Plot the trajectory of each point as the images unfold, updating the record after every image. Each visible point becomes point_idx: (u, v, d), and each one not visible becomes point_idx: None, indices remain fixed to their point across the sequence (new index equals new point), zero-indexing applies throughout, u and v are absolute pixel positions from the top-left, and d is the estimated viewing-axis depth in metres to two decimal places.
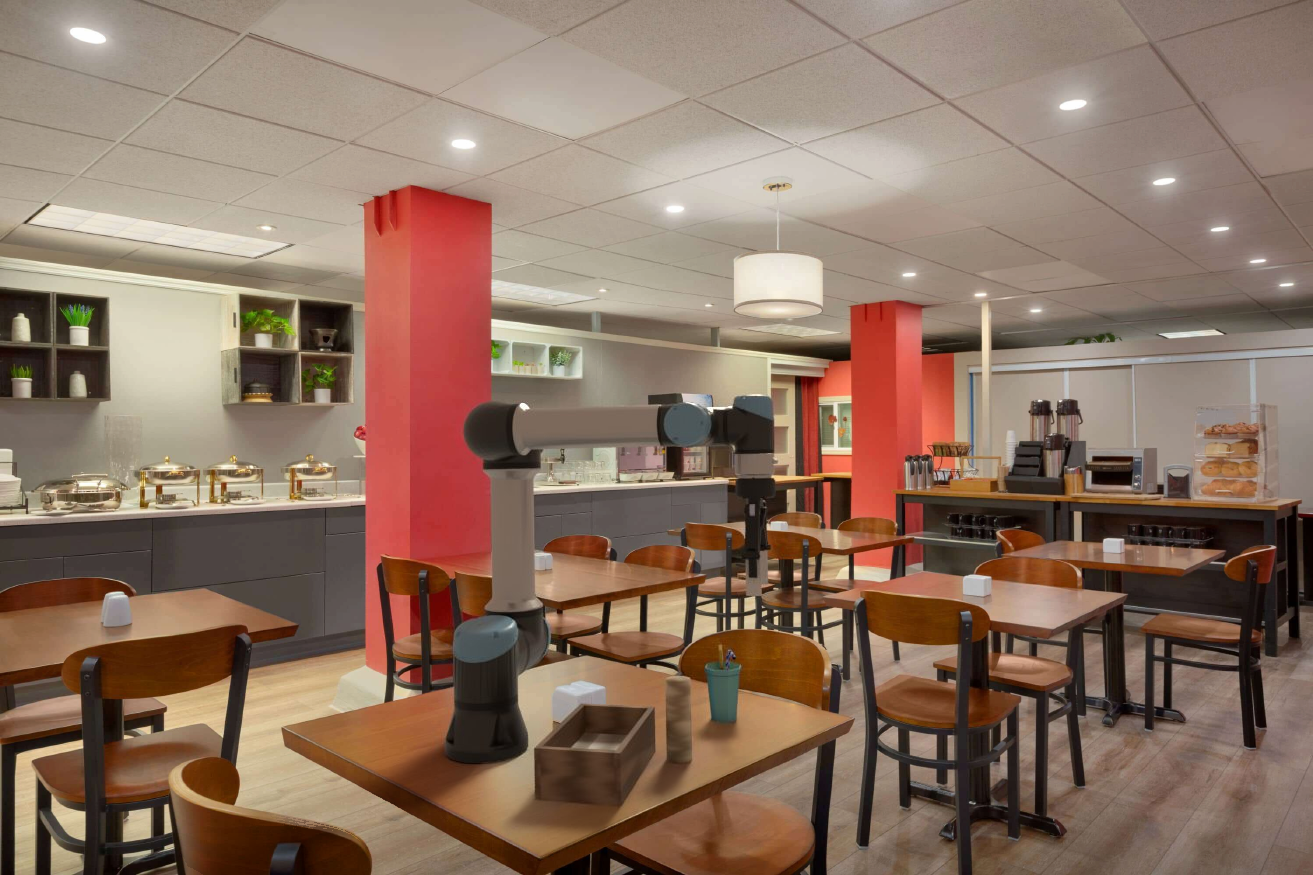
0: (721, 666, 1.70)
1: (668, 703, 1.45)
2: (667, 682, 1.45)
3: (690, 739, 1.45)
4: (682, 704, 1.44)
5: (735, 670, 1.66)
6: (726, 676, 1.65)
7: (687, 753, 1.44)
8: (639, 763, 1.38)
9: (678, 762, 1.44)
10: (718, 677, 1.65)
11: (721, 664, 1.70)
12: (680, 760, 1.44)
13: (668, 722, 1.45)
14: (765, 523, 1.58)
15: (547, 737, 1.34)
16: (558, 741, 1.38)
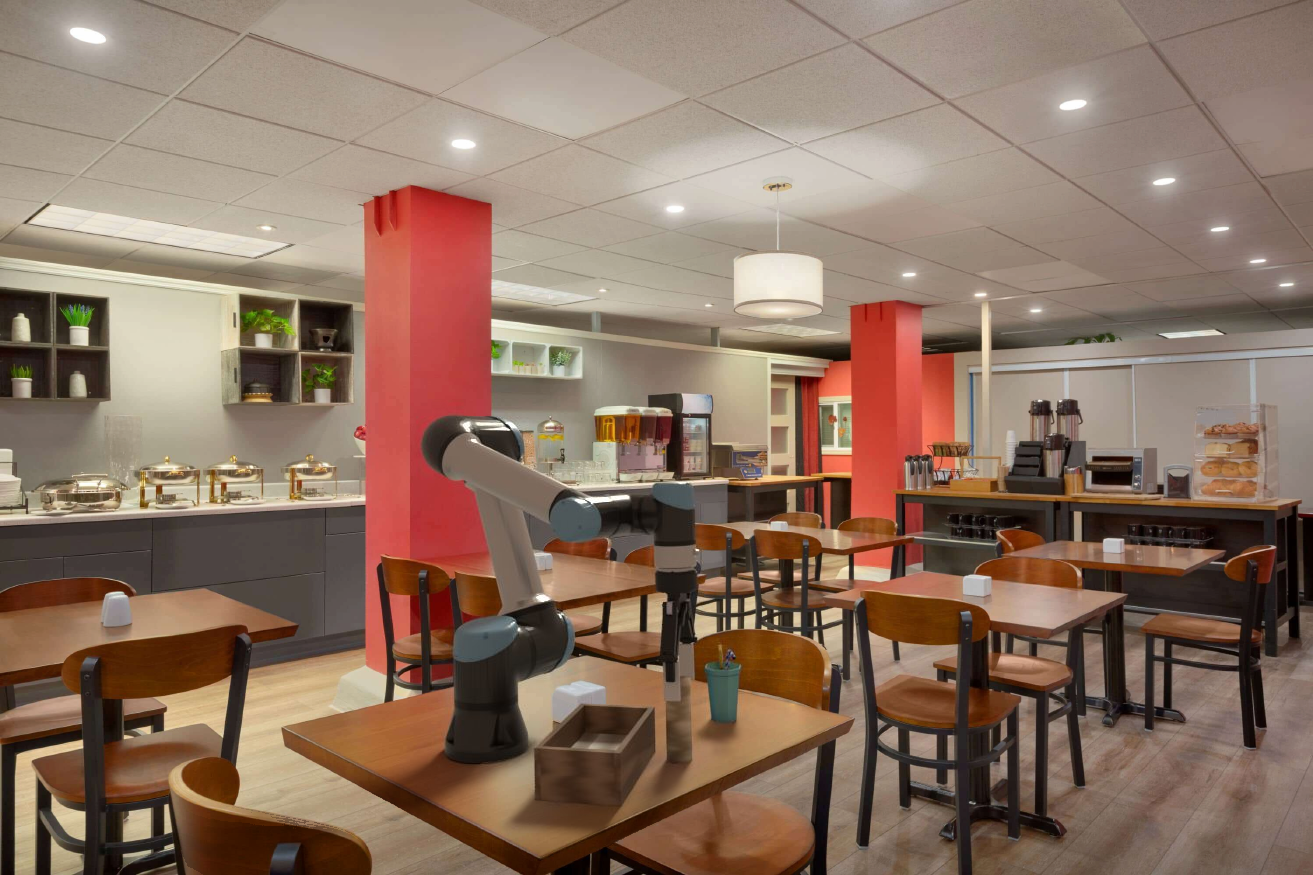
0: (721, 666, 1.70)
1: (668, 703, 1.45)
2: None
3: (690, 739, 1.45)
4: (682, 704, 1.44)
5: (735, 670, 1.66)
6: (726, 676, 1.65)
7: (687, 753, 1.44)
8: (639, 763, 1.38)
9: (678, 762, 1.44)
10: (718, 677, 1.65)
11: (721, 664, 1.70)
12: (680, 760, 1.44)
13: (668, 722, 1.45)
14: (688, 617, 1.49)
15: (547, 737, 1.34)
16: (558, 741, 1.38)
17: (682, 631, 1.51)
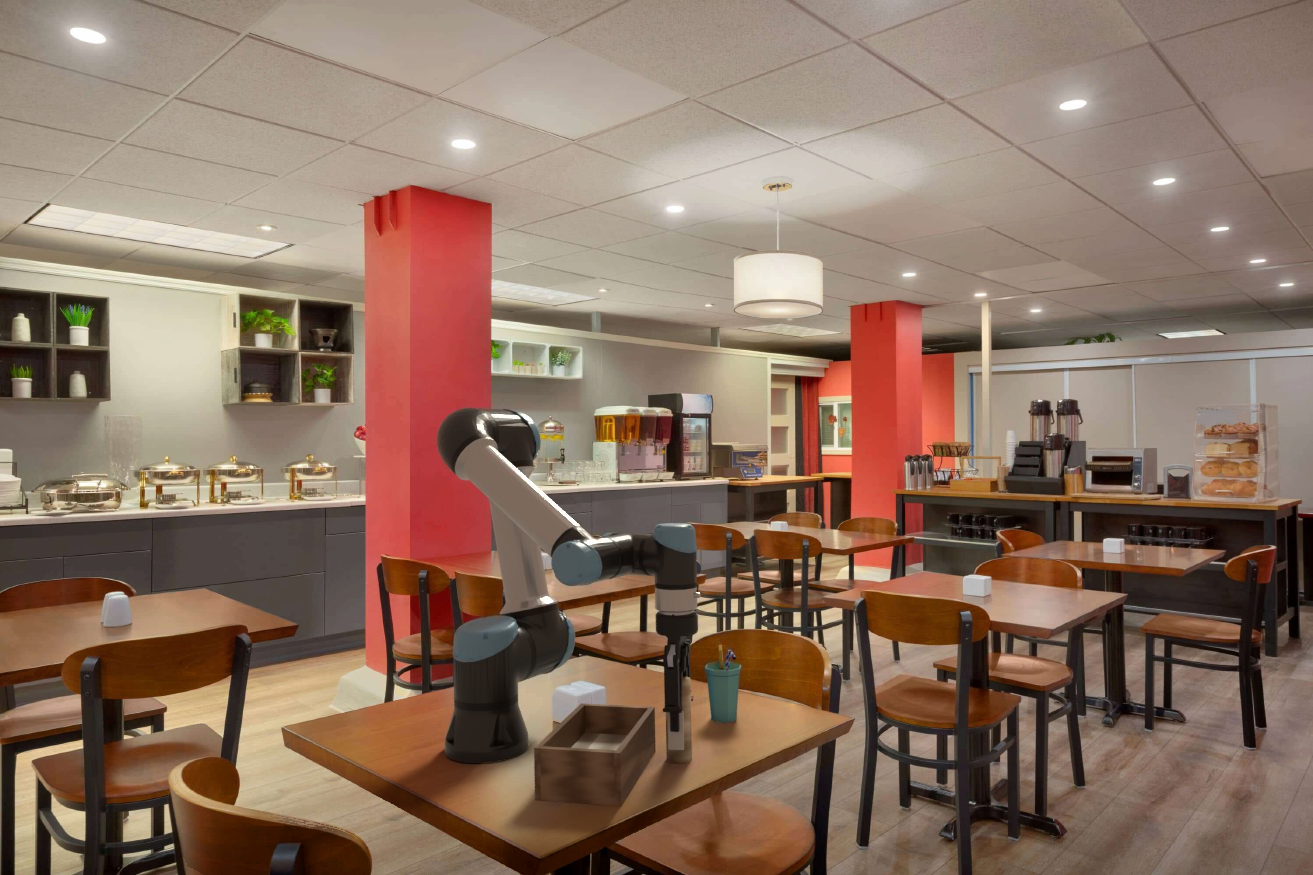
0: (721, 666, 1.70)
1: None
2: None
3: (689, 739, 1.45)
4: (682, 704, 1.44)
5: (735, 670, 1.66)
6: (726, 676, 1.65)
7: (687, 753, 1.44)
8: (639, 763, 1.38)
9: (678, 762, 1.44)
10: (718, 677, 1.65)
11: (721, 664, 1.70)
12: (680, 760, 1.44)
13: None
14: (687, 662, 1.47)
15: (547, 737, 1.34)
16: (558, 741, 1.38)
17: None
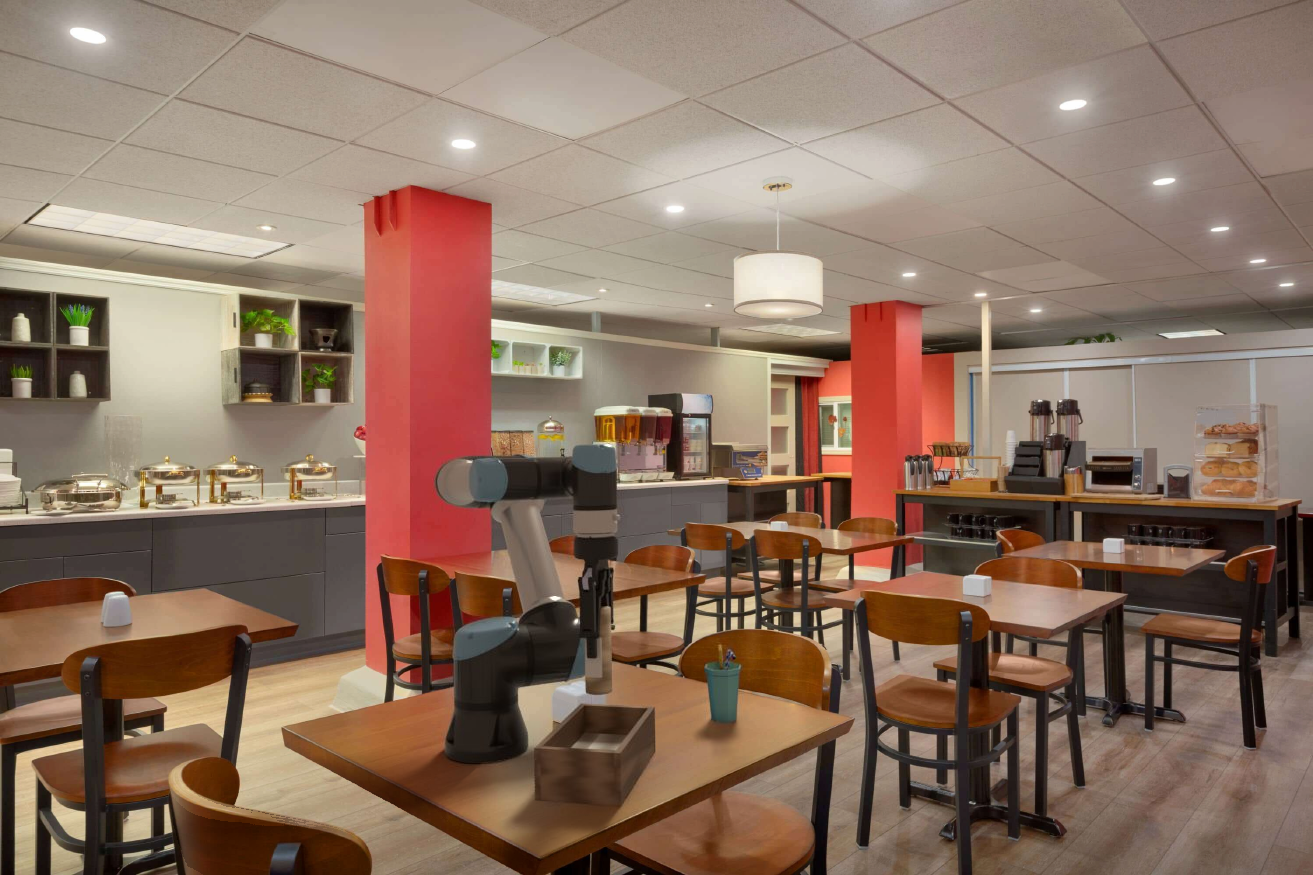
0: (721, 666, 1.70)
1: None
2: None
3: (609, 669, 1.39)
4: (601, 633, 1.38)
5: (735, 670, 1.66)
6: (726, 676, 1.65)
7: (606, 684, 1.38)
8: (639, 763, 1.38)
9: (596, 693, 1.38)
10: (718, 677, 1.65)
11: (721, 664, 1.70)
12: (598, 691, 1.38)
13: None
14: (607, 589, 1.41)
15: (547, 737, 1.34)
16: (558, 741, 1.38)
17: None
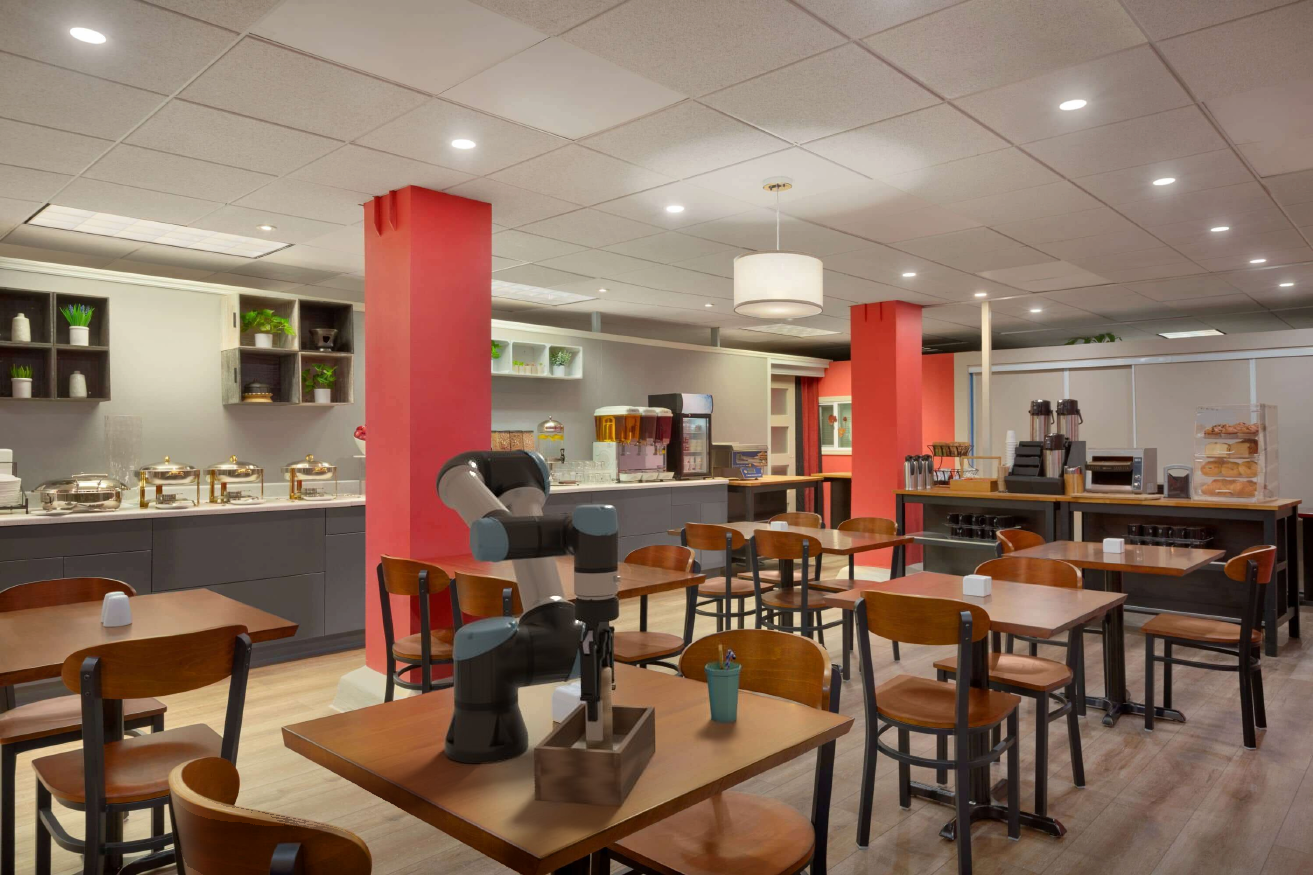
0: (721, 666, 1.70)
1: None
2: None
3: (610, 732, 1.39)
4: (601, 695, 1.38)
5: (735, 670, 1.66)
6: (726, 676, 1.65)
7: (606, 747, 1.38)
8: (639, 763, 1.38)
9: None
10: (718, 677, 1.65)
11: (721, 664, 1.70)
12: None
13: None
14: (608, 649, 1.41)
15: (547, 737, 1.34)
16: (558, 741, 1.38)
17: None
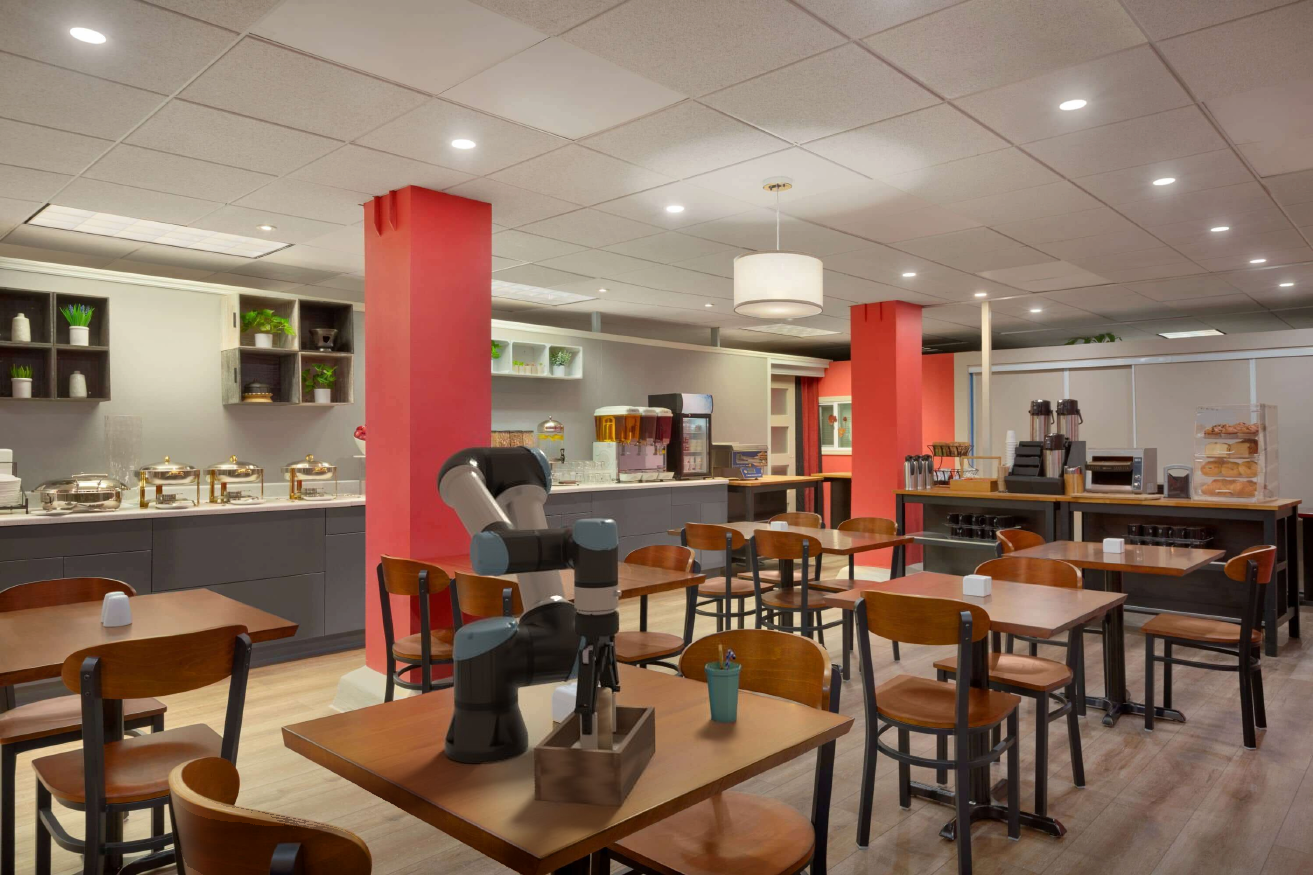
0: (721, 666, 1.70)
1: None
2: None
3: None
4: (602, 717, 1.38)
5: (735, 670, 1.66)
6: (726, 676, 1.65)
7: None
8: (639, 763, 1.38)
9: None
10: (718, 677, 1.65)
11: (721, 664, 1.70)
12: None
13: None
14: (610, 661, 1.42)
15: (547, 737, 1.34)
16: (558, 741, 1.38)
17: (604, 678, 1.44)
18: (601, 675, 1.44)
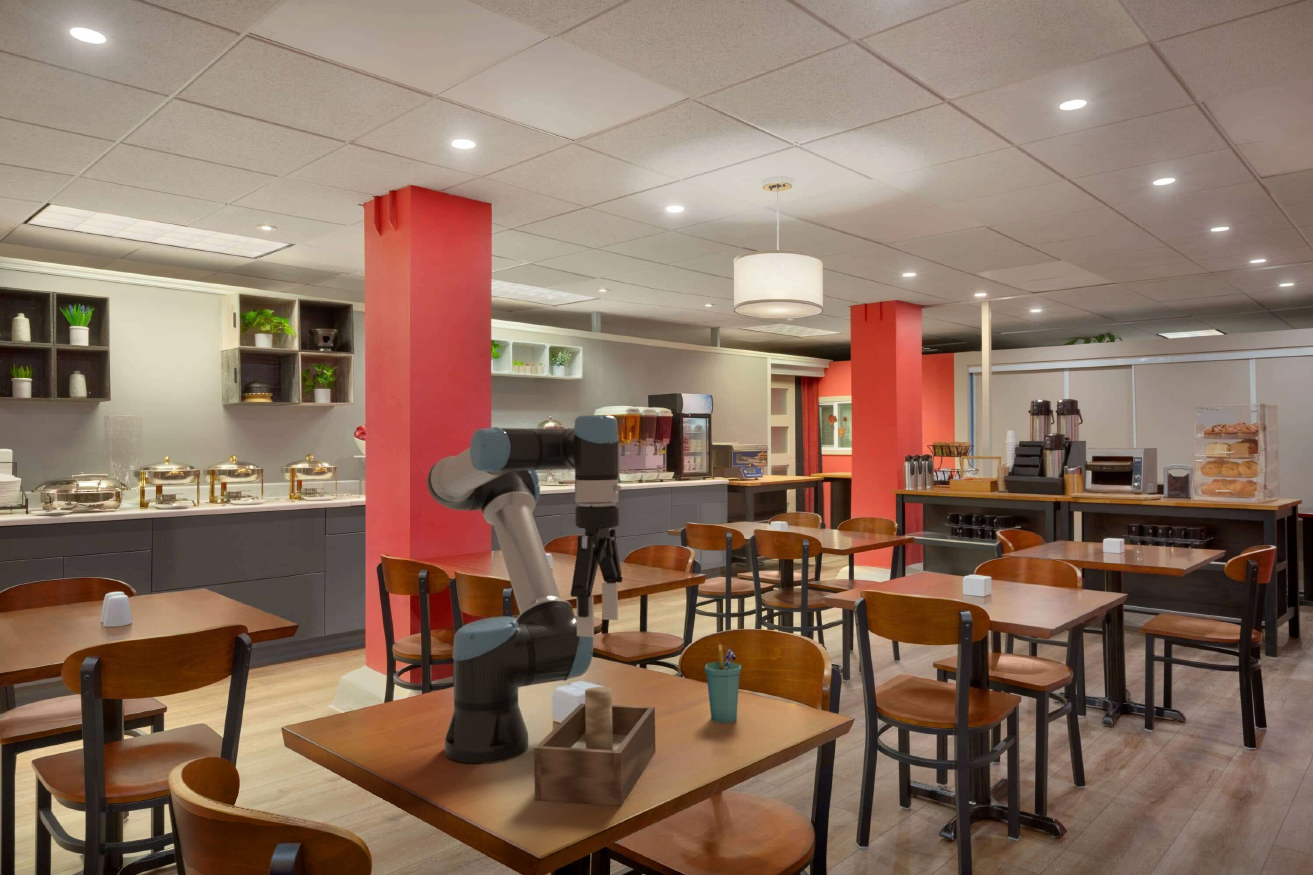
0: (721, 666, 1.70)
1: (587, 715, 1.38)
2: (586, 693, 1.39)
3: None
4: (602, 717, 1.38)
5: (735, 670, 1.66)
6: (726, 676, 1.65)
7: None
8: (639, 763, 1.38)
9: None
10: (718, 677, 1.65)
11: (721, 664, 1.70)
12: None
13: (587, 735, 1.38)
14: (610, 554, 1.45)
15: (547, 737, 1.34)
16: (558, 741, 1.38)
17: (605, 570, 1.48)
18: (603, 567, 1.48)
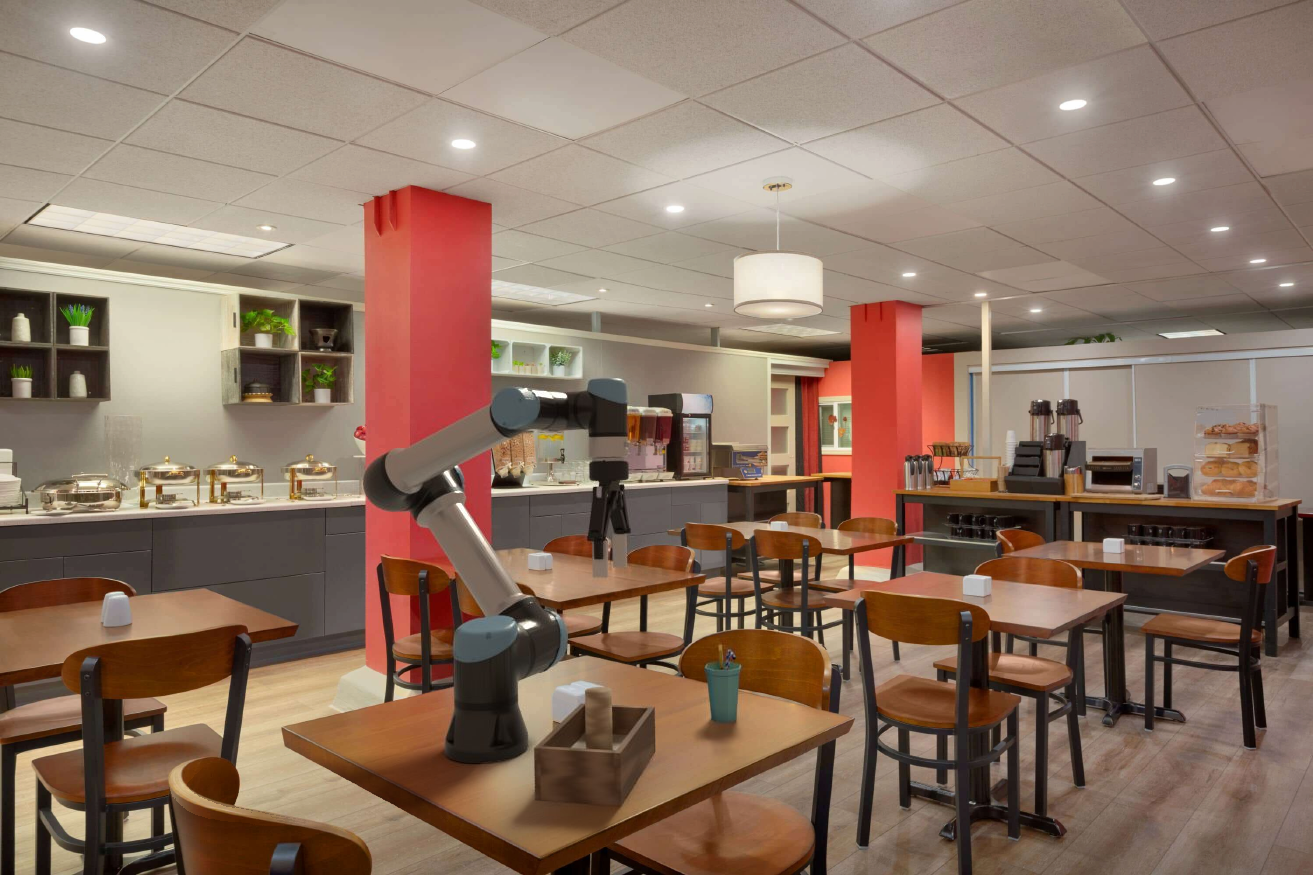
0: (721, 666, 1.70)
1: (587, 715, 1.38)
2: (586, 693, 1.39)
3: None
4: (602, 717, 1.38)
5: (735, 670, 1.66)
6: (726, 676, 1.65)
7: None
8: (639, 763, 1.38)
9: None
10: (718, 677, 1.65)
11: (721, 664, 1.70)
12: None
13: (587, 735, 1.38)
14: (620, 506, 1.59)
15: (547, 737, 1.34)
16: (558, 741, 1.38)
17: (615, 521, 1.62)
18: (613, 519, 1.62)
